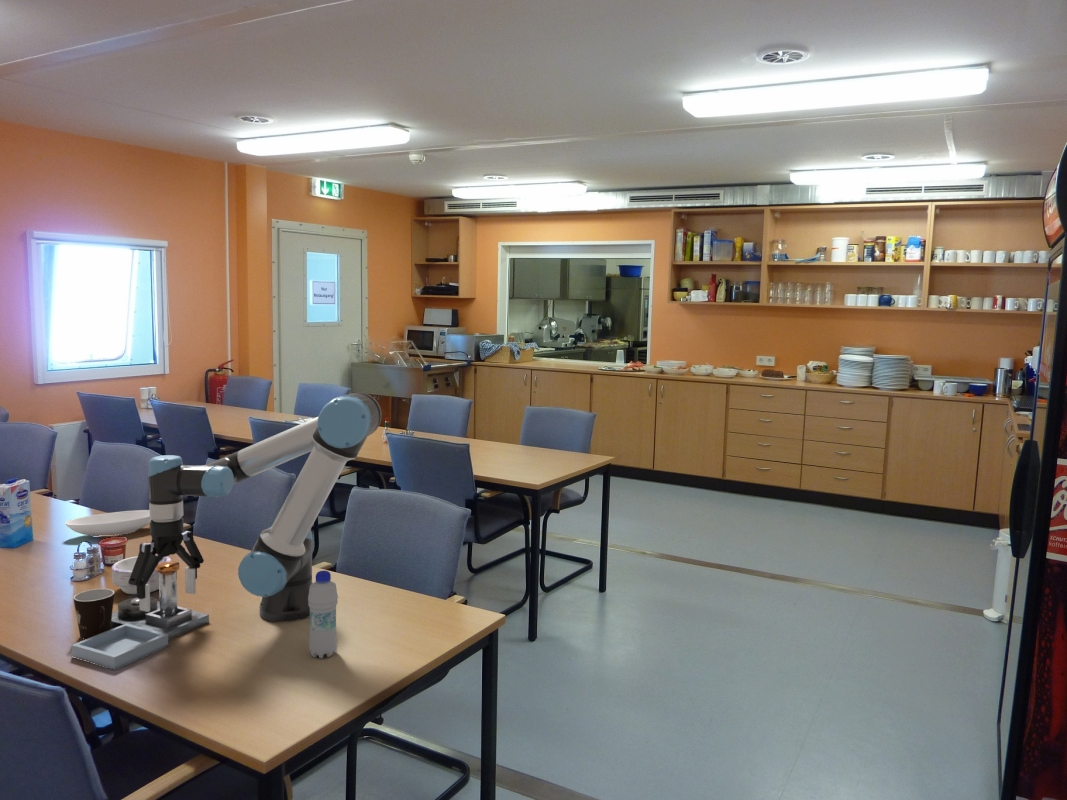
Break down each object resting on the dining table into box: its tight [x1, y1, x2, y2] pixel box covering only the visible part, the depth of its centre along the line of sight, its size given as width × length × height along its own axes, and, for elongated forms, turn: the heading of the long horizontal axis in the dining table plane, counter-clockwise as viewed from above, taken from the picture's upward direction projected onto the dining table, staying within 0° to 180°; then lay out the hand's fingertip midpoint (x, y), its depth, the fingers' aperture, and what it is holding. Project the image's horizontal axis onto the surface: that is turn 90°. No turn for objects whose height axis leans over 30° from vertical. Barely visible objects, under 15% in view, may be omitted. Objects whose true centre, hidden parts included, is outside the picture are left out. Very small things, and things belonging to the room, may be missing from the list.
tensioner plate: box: [111, 596, 210, 641], centre depth 192 cm, size 22×14×5 cm, turn 66°
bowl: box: [64, 509, 152, 537], centre depth 270 cm, size 30×15×6 cm, turn 129°
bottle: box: [308, 570, 339, 659], centre depth 177 cm, size 7×7×20 cm
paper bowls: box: [111, 554, 172, 595], centre depth 216 cm, size 15×15×8 cm
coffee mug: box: [72, 588, 115, 640], centre depth 183 cm, size 12×9×10 cm
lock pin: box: [156, 560, 180, 618], centre depth 190 cm, size 5×5×14 cm
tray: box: [70, 623, 169, 671], centre depth 176 cm, size 14×14×3 cm
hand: (168, 601), depth 190 cm, fingers open, 13 cm apart
